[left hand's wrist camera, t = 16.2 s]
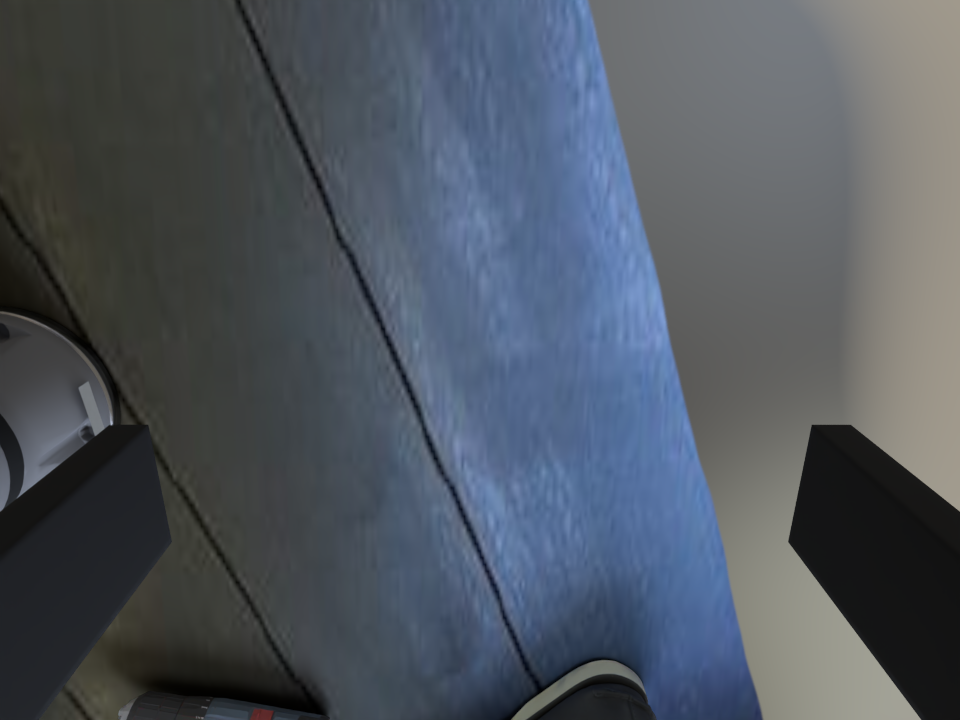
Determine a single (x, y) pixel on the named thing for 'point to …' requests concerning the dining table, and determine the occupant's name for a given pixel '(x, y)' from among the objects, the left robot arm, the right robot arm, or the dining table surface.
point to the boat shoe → (591, 696)
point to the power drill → (204, 709)
